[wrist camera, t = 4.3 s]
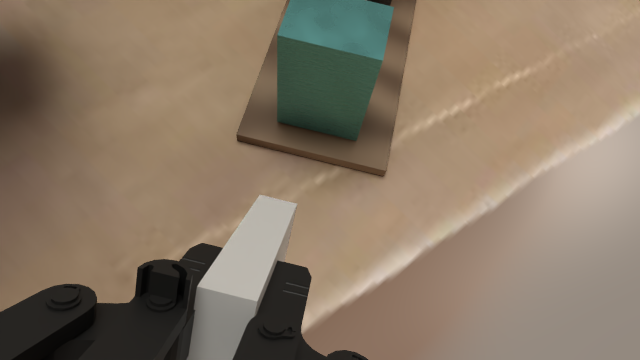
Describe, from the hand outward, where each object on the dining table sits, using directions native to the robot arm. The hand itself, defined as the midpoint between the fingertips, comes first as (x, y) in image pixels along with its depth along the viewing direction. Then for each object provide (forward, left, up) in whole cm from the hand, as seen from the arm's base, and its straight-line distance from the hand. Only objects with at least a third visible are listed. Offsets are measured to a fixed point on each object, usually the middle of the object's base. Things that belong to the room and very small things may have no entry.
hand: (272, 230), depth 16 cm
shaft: (+19, +16, -15) cm, 29 cm away
